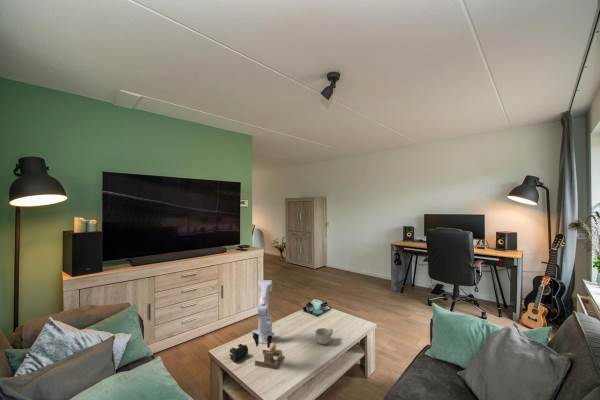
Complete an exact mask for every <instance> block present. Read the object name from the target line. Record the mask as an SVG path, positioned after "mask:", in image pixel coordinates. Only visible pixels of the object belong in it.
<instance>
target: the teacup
mask: <svg viewBox="0 0 600 400" xmlns="http://www.w3.org/2000/svg"><path fill="white" fill-rule="evenodd" d="M333 331H334V330H333V329H331V328H325V327H320V328H317V329H316V330H315V340H316V342H317V343H319V344H320V345H323V346H324V345H327V344H328V343H330V341H331V336H332V335H333Z"/></svg>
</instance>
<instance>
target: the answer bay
mask: <svg viewBox="0 0 600 400" xmlns="http://www.w3.org/2000/svg"><path fill="white" fill-rule="evenodd" d="M266 352H273V357H277V358H276V360H275V362H274V363H272V362H271V363H267V362H264V361H261V360H255V361H254V366H256V367H261V368H266V369H267V368H268V369H271V370H276V369H277V367H278V365H279V364H280V362H281V360H282V358H283V352H280V351H276V352H275V351H270V349H262V354H263V355H265V353H266Z"/></svg>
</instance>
